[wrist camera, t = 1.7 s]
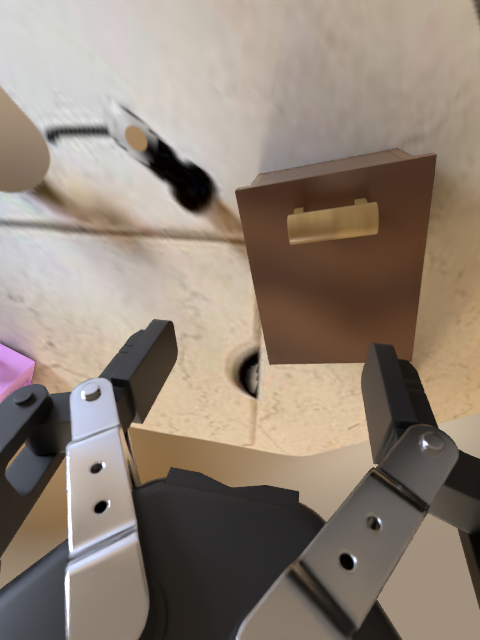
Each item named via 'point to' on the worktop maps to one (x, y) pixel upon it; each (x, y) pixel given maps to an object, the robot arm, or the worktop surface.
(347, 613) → the robot arm
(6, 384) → the teapot
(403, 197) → the lid
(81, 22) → the worktop surface
